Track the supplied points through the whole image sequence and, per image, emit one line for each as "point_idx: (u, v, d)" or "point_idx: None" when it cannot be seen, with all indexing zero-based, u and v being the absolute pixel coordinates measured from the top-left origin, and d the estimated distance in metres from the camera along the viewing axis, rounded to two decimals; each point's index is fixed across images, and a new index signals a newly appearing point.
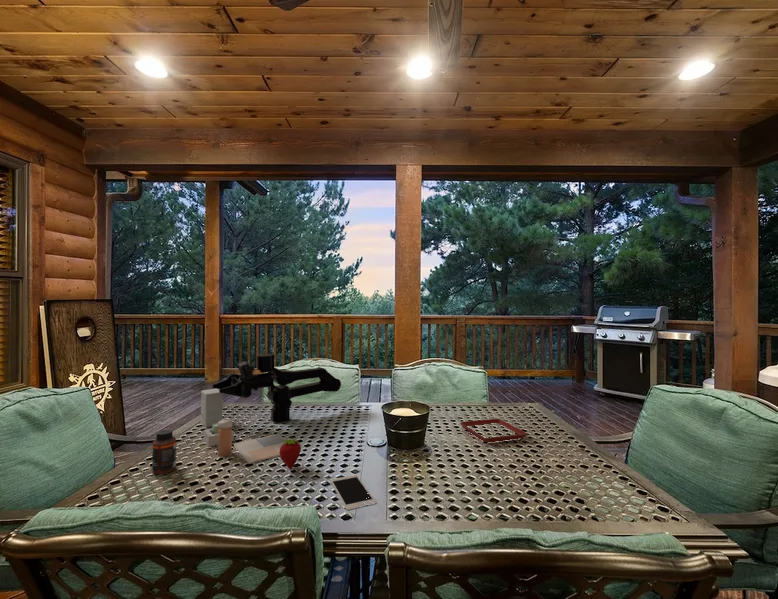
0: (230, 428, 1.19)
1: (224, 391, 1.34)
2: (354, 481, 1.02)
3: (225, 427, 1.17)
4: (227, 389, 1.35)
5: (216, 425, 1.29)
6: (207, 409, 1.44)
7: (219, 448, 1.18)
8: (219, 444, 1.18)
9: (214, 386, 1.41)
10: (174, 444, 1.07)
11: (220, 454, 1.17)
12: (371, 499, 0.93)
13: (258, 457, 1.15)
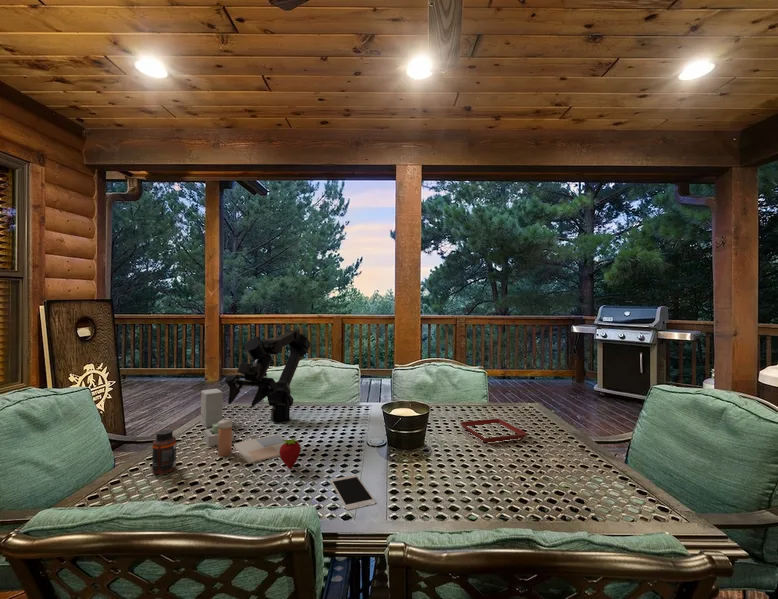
0: (230, 428, 1.19)
1: (256, 402, 1.27)
2: (354, 481, 1.02)
3: (225, 427, 1.17)
4: (257, 398, 1.28)
5: (216, 425, 1.29)
6: (207, 409, 1.44)
7: (219, 448, 1.18)
8: (219, 444, 1.18)
9: (230, 402, 1.29)
10: (174, 444, 1.07)
11: (220, 454, 1.17)
12: (371, 499, 0.93)
13: (258, 457, 1.15)
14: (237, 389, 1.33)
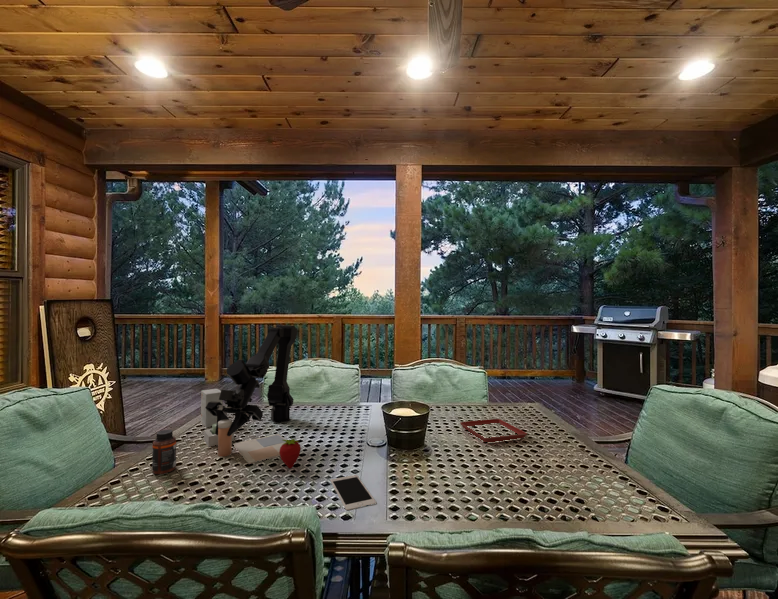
0: None
1: (232, 431, 1.19)
2: (354, 481, 1.02)
3: (225, 427, 1.17)
4: (233, 427, 1.19)
5: None
6: None
7: (219, 448, 1.18)
8: (219, 444, 1.18)
9: (217, 432, 1.19)
10: (174, 444, 1.07)
11: (220, 454, 1.17)
12: (371, 499, 0.93)
13: (258, 457, 1.15)
14: (225, 417, 1.24)
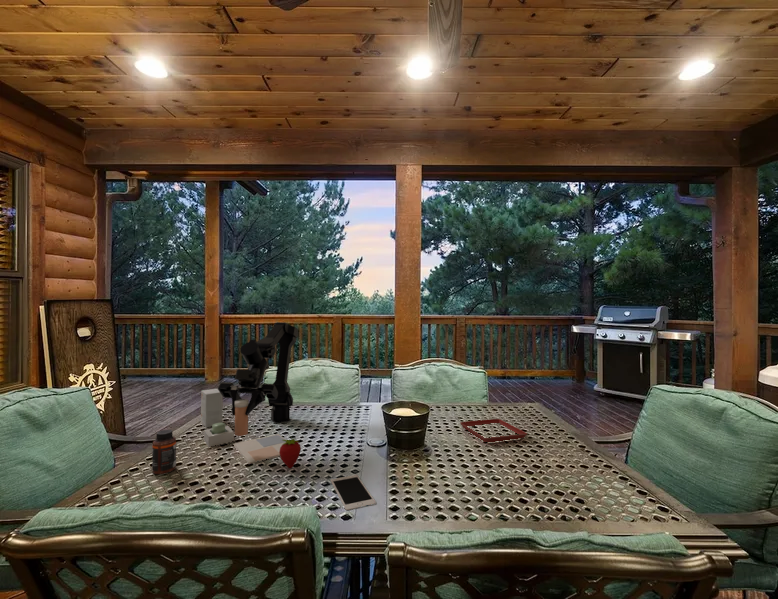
0: None
1: (250, 410, 1.18)
2: (354, 481, 1.02)
3: (243, 406, 1.17)
4: (251, 406, 1.19)
5: (216, 425, 1.29)
6: (207, 409, 1.44)
7: (236, 427, 1.17)
8: (236, 423, 1.17)
9: (234, 412, 1.18)
10: (174, 444, 1.07)
11: (238, 433, 1.17)
12: (371, 499, 0.93)
13: (258, 457, 1.15)
14: (239, 398, 1.23)
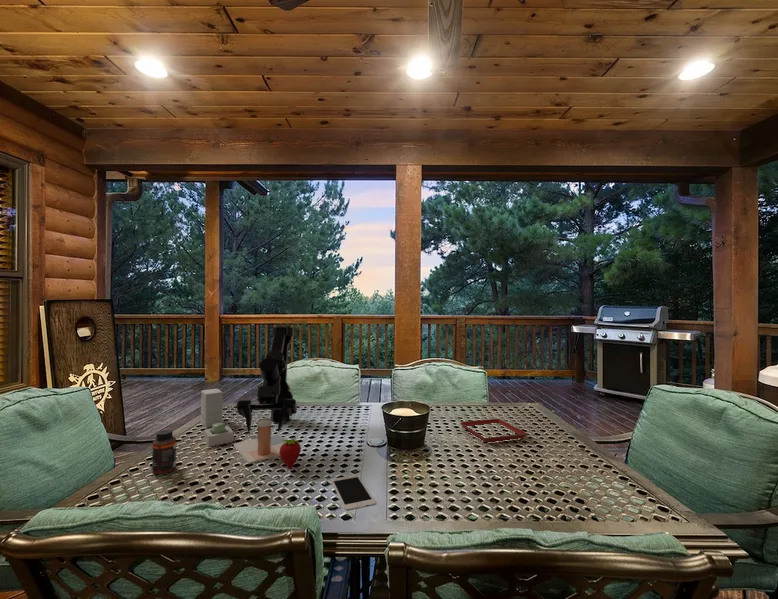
0: (270, 426, 1.19)
1: (281, 426, 1.20)
2: (355, 481, 1.02)
3: (267, 425, 1.18)
4: (282, 422, 1.20)
5: (216, 425, 1.29)
6: (207, 409, 1.44)
7: (261, 447, 1.17)
8: (261, 443, 1.17)
9: (249, 430, 1.18)
10: (174, 444, 1.07)
11: (262, 453, 1.17)
12: (370, 499, 0.92)
13: (258, 457, 1.15)
14: (251, 414, 1.22)
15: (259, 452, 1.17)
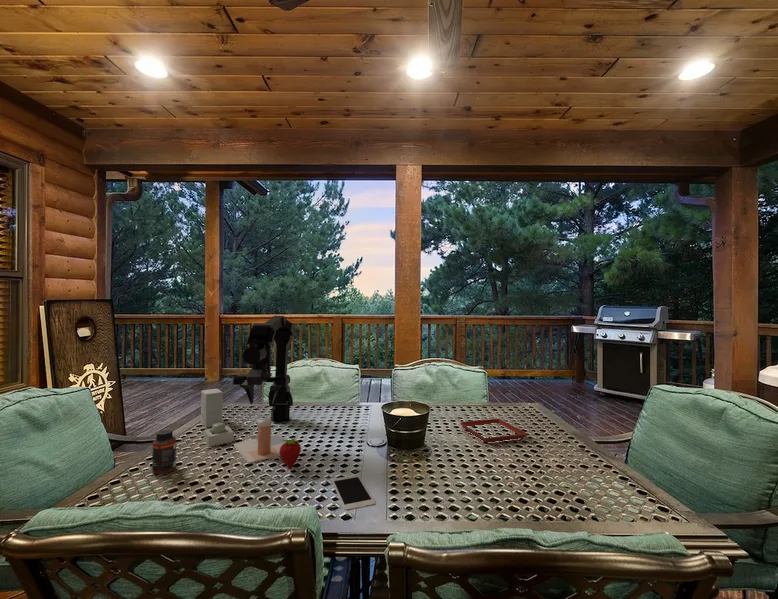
0: (270, 426, 1.19)
1: (273, 399, 1.30)
2: (355, 481, 1.02)
3: (267, 425, 1.18)
4: (273, 396, 1.30)
5: (216, 425, 1.29)
6: (207, 409, 1.44)
7: (261, 447, 1.17)
8: (261, 443, 1.17)
9: (252, 402, 1.31)
10: (174, 444, 1.07)
11: (262, 453, 1.17)
12: (370, 499, 0.92)
13: (258, 457, 1.15)
14: (251, 385, 1.32)
15: (259, 452, 1.17)
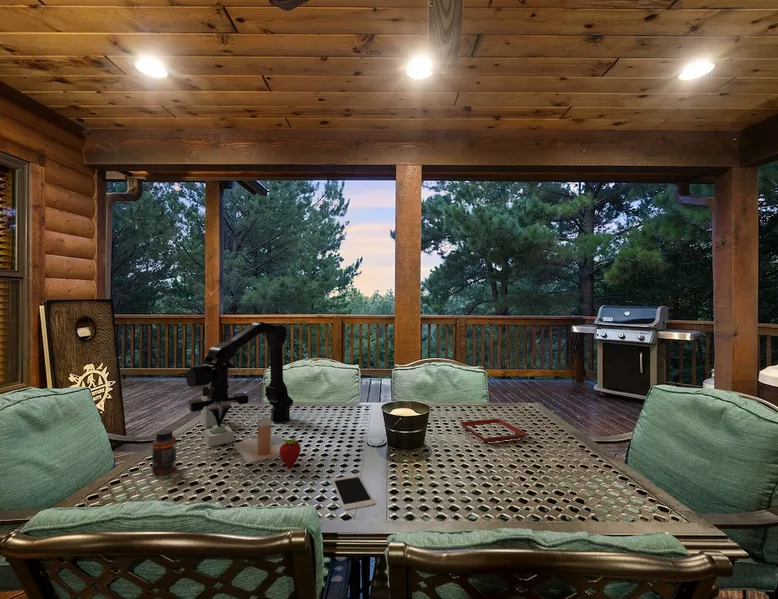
0: (270, 426, 1.19)
1: (216, 422, 1.30)
2: (355, 481, 1.02)
3: (267, 425, 1.18)
4: (215, 418, 1.30)
5: (216, 427, 1.29)
6: (207, 409, 1.44)
7: (261, 447, 1.17)
8: (261, 443, 1.17)
9: None
10: (174, 444, 1.07)
11: (262, 453, 1.17)
12: (370, 499, 0.92)
13: (258, 457, 1.15)
14: (221, 408, 1.30)
15: (259, 452, 1.17)
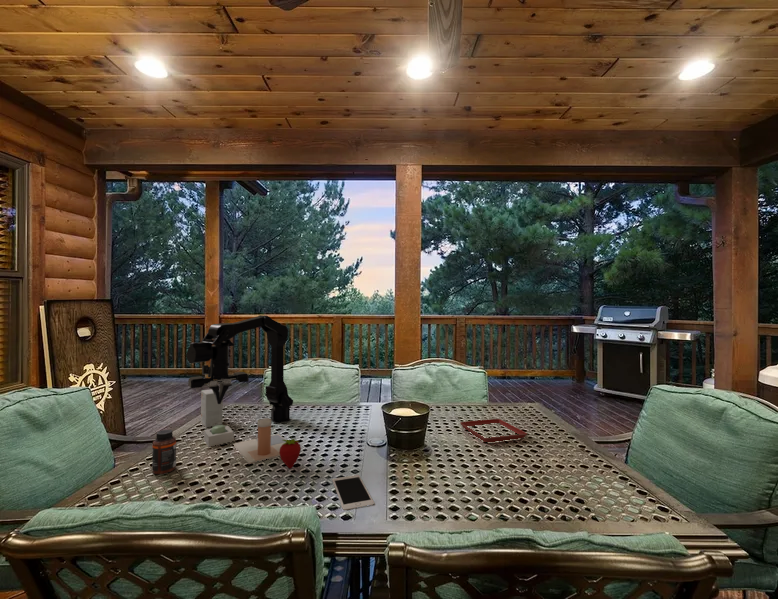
0: (270, 426, 1.19)
1: (216, 400, 1.29)
2: (355, 481, 1.02)
3: (267, 425, 1.18)
4: (215, 396, 1.30)
5: (216, 428, 1.29)
6: (207, 409, 1.44)
7: (261, 447, 1.17)
8: (261, 443, 1.17)
9: None
10: (174, 444, 1.07)
11: (262, 453, 1.17)
12: (369, 500, 0.92)
13: (258, 457, 1.15)
14: (221, 386, 1.30)
15: (259, 452, 1.17)
